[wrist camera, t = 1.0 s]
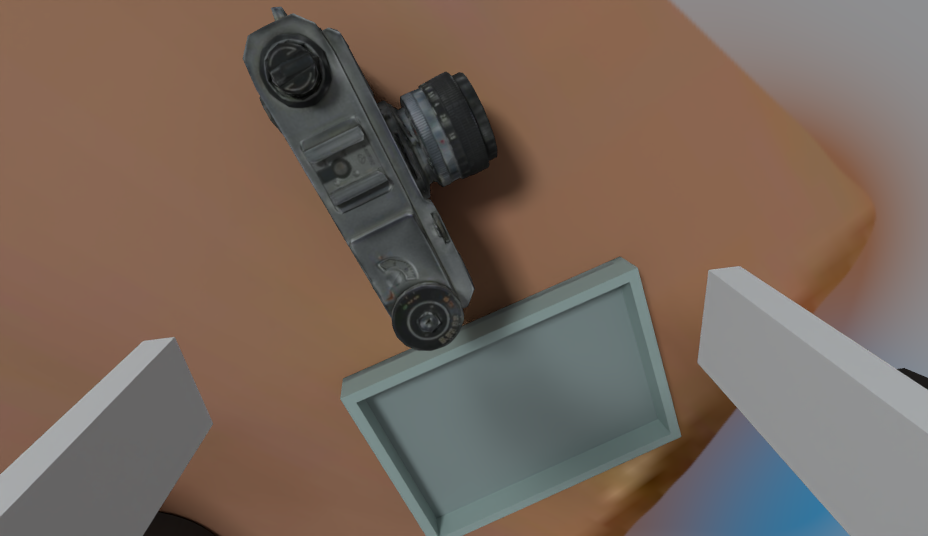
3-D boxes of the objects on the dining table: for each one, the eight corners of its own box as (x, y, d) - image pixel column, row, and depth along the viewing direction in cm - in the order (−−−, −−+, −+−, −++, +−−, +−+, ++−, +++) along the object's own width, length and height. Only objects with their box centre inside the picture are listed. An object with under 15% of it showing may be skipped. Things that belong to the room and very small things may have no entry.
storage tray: (430, 522, 40) (434, 548, 37) (343, 378, 34) (340, 398, 31) (664, 417, 40) (681, 436, 38) (620, 256, 34) (637, 267, 32)
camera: (523, 242, 32) (580, 297, 23) (409, 301, 32) (420, 379, 23) (406, -21, 26) (420, -92, 16) (263, 53, 26) (196, 25, 17)
